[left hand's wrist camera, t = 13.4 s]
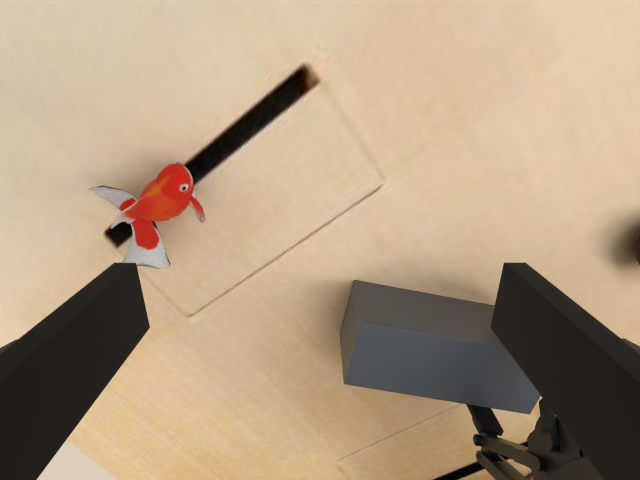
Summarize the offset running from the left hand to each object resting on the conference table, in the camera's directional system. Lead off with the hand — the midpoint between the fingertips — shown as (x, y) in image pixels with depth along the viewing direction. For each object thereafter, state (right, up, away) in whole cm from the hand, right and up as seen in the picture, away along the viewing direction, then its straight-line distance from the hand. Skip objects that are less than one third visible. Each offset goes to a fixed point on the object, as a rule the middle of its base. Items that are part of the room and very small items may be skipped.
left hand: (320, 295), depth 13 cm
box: (+15, -9, +36) cm, 40 cm away
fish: (-19, +6, +30) cm, 36 cm away
